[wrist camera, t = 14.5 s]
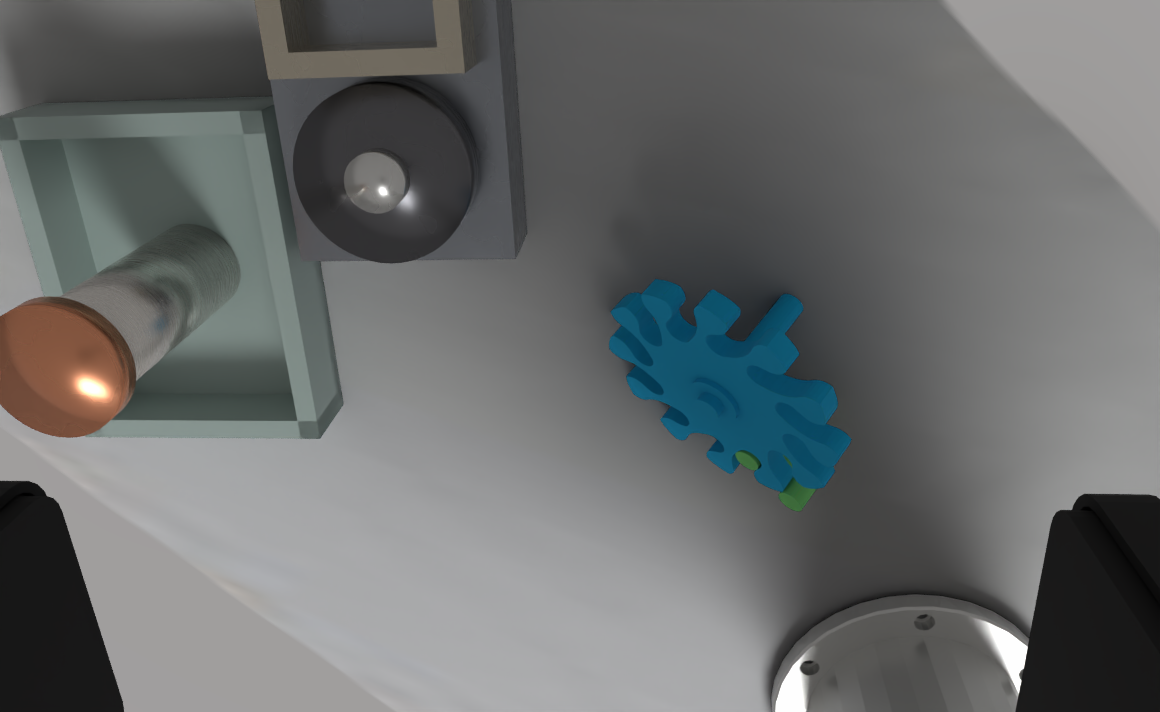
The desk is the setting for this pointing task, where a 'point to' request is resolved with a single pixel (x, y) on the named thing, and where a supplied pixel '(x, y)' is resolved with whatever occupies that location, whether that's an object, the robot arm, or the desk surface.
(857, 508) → the desk surface
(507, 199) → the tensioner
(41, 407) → the pin
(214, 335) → the tray
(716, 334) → the gear
